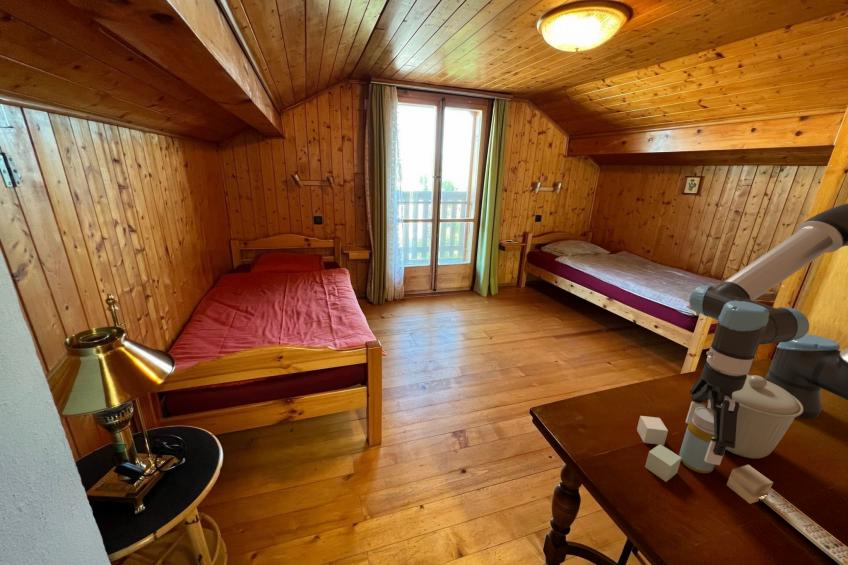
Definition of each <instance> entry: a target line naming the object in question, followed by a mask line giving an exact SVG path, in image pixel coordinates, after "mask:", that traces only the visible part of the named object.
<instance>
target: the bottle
mask: <svg viewBox="0 0 848 565" xmlns="http://www.w3.org/2000/svg"><path fill="white" fill-rule="evenodd" d="M712 437H713V438H715V435H714V411H713V410H712V409H710V408H708V407H706V406H705V407H698V408H696V409H695V411H694V414H693V418H692V420H691V421H690V422H689V424H687V427H686V430H685V433H684V437H683V439H682V440H683V441H682V443H681V447H680V449H679V450H680V451H679V453H678V456H680V457H681V462H682V464H683V465H684V466H685V467H686V468H688V469H689V470H691V471H693V472H695V473H698V474H710V473H711V472H713V471H714V468H715V466H716V465H715V464H711V463H707V462H705V460H704V459H705V456H706V453H707V450H708V447H709V444H710V442H711V438H712Z"/></svg>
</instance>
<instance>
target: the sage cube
mask: <svg viewBox="0 0 848 565" xmlns="http://www.w3.org/2000/svg"><path fill="white" fill-rule="evenodd" d="M647 454H648V455H647V458H646V463H645V465H644V468H645V469H647V470H648V471H650V472H651V473H652V474H654V475H656V476H657V477H658V478H660V479H661V480H663V481H664V482H666V483H667V482H669V480H671V479H672V478H673V477H674V476H675V475H676V474H678V471H679V468H680V463H681V462H682V461H681V457H680V456H679V454H677V453H675V452H673V451H672V450H670V449H669V448H667V447H665V445H661V444H659V445H658V444H657V445H656V446H655V447H653V448H652V449H650V450H649V451H648V453H647Z"/></svg>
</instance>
